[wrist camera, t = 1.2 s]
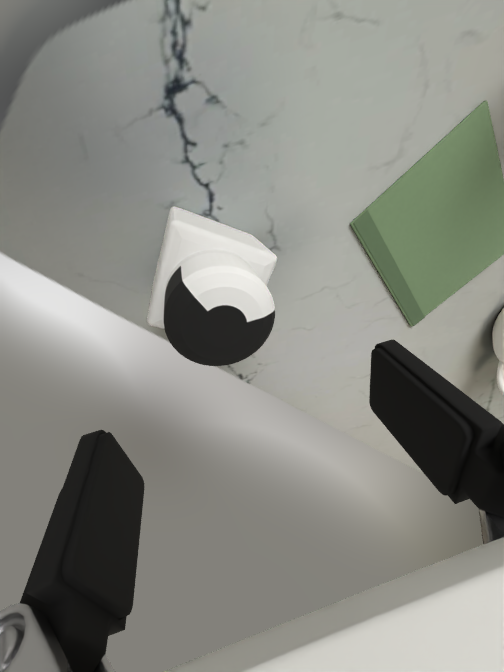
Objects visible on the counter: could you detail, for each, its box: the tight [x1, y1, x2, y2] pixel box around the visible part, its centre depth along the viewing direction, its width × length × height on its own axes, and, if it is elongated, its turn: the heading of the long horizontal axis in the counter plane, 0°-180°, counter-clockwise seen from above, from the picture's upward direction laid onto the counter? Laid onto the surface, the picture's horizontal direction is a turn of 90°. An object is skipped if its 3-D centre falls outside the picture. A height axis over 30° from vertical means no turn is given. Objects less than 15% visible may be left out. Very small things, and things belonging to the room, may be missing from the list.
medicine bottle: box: [147, 206, 277, 366], centre depth 20 cm, size 7×7×12 cm
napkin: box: [350, 101, 504, 327], centre depth 29 cm, size 16×14×1 cm
